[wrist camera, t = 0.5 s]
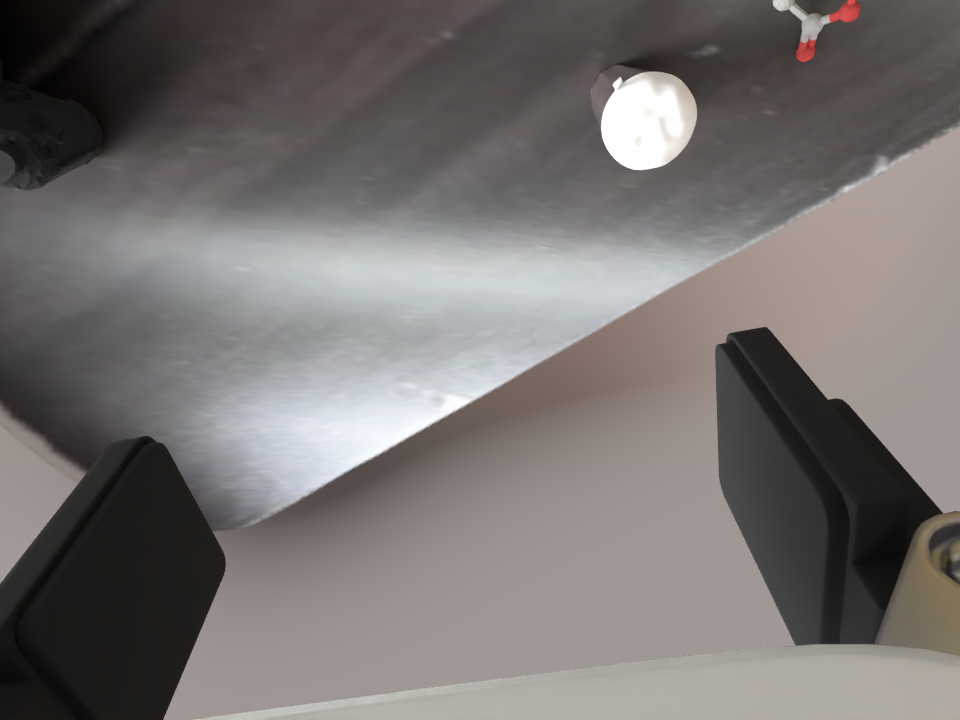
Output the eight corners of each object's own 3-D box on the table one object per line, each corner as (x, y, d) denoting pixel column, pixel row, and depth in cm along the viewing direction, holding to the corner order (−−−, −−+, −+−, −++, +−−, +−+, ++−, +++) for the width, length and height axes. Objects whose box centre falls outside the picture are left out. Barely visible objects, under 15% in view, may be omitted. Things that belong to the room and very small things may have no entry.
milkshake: (615, 21, 37) (658, 40, 29) (671, 94, 39) (727, 131, 31) (553, 83, 39) (577, 117, 30) (611, 149, 41) (648, 199, 32)
